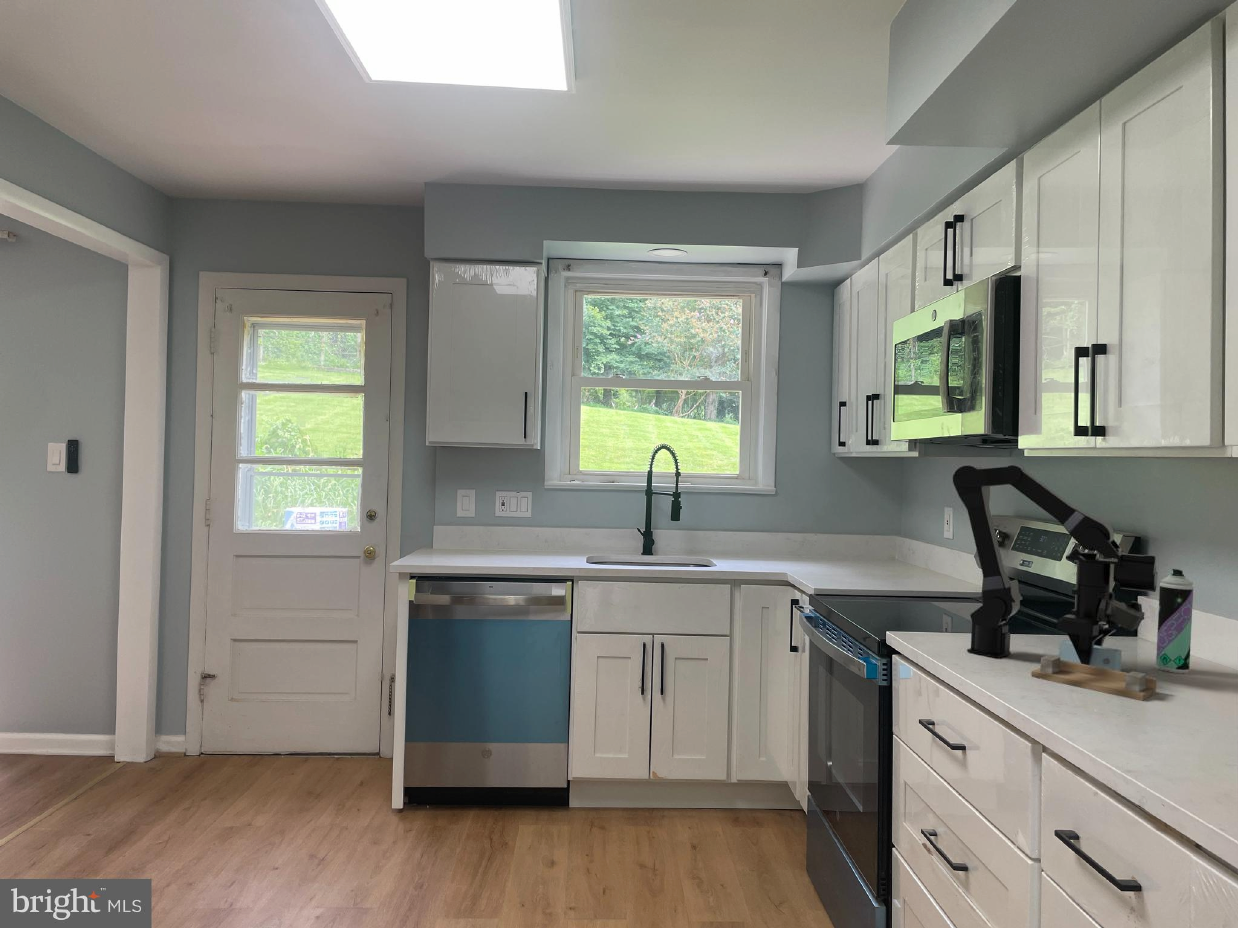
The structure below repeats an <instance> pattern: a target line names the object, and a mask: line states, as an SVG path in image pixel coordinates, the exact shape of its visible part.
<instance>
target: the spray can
mask: <svg viewBox="0 0 1238 928" xmlns="http://www.w3.org/2000/svg"><path fill="white" fill-rule="evenodd" d="M1184 575H1185V574H1183V570H1181V569H1178V568H1172V569H1171V573H1170V574H1168V576H1166V577H1165V578H1162V579H1160V583H1159V595H1158V614H1157V615H1158V616H1157V617H1158V618H1157V619H1158V620H1157V636H1156V638H1157V639H1156V655H1155V656H1156V659H1155V668H1156V669H1157V668H1158V670H1159V669H1160V671H1163V670H1164V671H1163V672H1167V671H1169V672H1168V673H1172V672H1173V673H1174V674H1183V673H1184V674H1189V673H1190V664H1191V663H1190V661H1191V660H1190V659H1191V644H1192V643H1191V641H1192V623H1193V622H1192V621H1193V619H1192V618H1193V602H1194V599H1193V598H1194V597H1193V596H1194V586H1193V582H1192V581H1190V580H1188V579H1187V577H1186V575H1185V576H1184Z"/></svg>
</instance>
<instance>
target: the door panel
mask: <svg viewBox="0 0 1238 928" xmlns="http://www.w3.org/2000/svg"><path fill="white" fill-rule="evenodd" d="M1058 657H1060V660H1065V661H1070V662H1075V663H1080V664H1081V662H1080V660H1079V658H1078V655H1077V653H1076V651H1075V649H1074V647H1073V644H1072V642H1071V640H1070V639H1069V640H1068V639H1064V640H1060V641H1059V646H1058ZM1089 665H1090V666H1095V667H1100V668H1105V669H1110V670H1115V671H1120V672H1121V671H1122V669H1121V667H1122V649H1117V648H1112V647H1106V646H1103V645H1102V646H1096V645H1094V647H1093V652H1092V656H1091V661H1090V664H1089Z"/></svg>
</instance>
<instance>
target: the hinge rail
mask: <svg viewBox="0 0 1238 928" xmlns="http://www.w3.org/2000/svg"><path fill="white" fill-rule="evenodd" d="M1030 674H1031V676H1032V677H1031V676H1030V677H1031V678H1036V679H1040V678H1041V680H1045V679H1046V681H1051V682H1055V683H1058V684H1059V683H1060V684H1063V685H1069V686H1073V687H1079V688H1082V689H1087V690H1091V691H1095V692H1101V693H1106V694H1110V695H1113V696H1119V697H1123V698H1128V699H1132V700H1137V701H1144V700H1146V699H1148V698H1150V697H1151V696H1153V695H1154V694H1156V693H1157V678H1155V677H1150V676H1147V673H1143V672H1139V671H1134V670H1133V671H1131V672H1124V671H1121V670H1120V671H1115V670H1110V669H1105V668H1100V667H1095V666H1090V665H1085V664H1080V663H1075V662H1070V661H1065V660H1060V657H1059V656H1056V655H1051V654H1048V655H1045V656H1042V657H1040V667H1038V668H1036V669H1033V670H1031V673H1030Z"/></svg>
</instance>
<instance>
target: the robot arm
mask: <svg viewBox="0 0 1238 928" xmlns="http://www.w3.org/2000/svg"><path fill="white" fill-rule="evenodd" d="M952 483H953V486H954V488H955V491H956V494H957V495H958V498H959V499H960V501H961V503H963V506H964V507H965V509H966V511H967V514H968V518H969V519H968V520H969V523H970V528H971V531H972V535H973V540H974V544H975V547H976V551H977V552H976V553H977V556H978V560H979V566H980V569H981V573H982V585H981V602H982V605H981V606H979V607H978V608H977V609H975V611H973V612H972V613H970V615H969V616H970V619H971V635H970V638H971V639H970V648H967V649H966V652H967V653H972V654H977V655H982V656H987V657H992V658H998V659H999V658H1002V657H1005V656H1007V655H1010V654H1011V648H1010V647H1011V633H1010V632H1009V625H1008V624H1006V623H1007V622H1008V620H1009V618H1010V617H1012V616H1013V615H1014V614H1016V613H1017V612H1018V611H1019V609H1020V606H1021V602H1020V601H1021V600H1023V596H1022V595H1021V593H1020V591H1019V581H1018V579H1014V580H1010V578H1009V576H1008V575H1007V573H1006V571H1005V567H1004V562H1003V558H1002V554H1001V551H1000V547H999V543H998V537H997V534H996V533H997V532H996V529H995V525H994V522H993V517H992V514H991V509H990V500H991V499H990V497H991V487H995V486H1005V485H1010V486H1011V487H1014V489H1016V490H1017V491H1018V492H1019V493H1021V494H1022V495H1023V496H1025V497H1026V498H1028V499H1029V500H1030V501H1032V502H1033V503H1034V504H1035V505H1036V506H1038V507H1040V509H1042V510H1044V511H1045V512H1046V513H1048V514H1049V515H1050V516H1052V518H1054V519H1055V520H1057V521H1058V522H1059V524H1061V526H1062V527H1063V528H1064V529H1065V530H1066V532H1067V533H1068V534H1069V535H1070V536H1071V538H1073V540H1075V542H1076V543H1077V544H1078V545H1079V546H1080V547H1081V548H1083V549H1085V550H1086V551H1090V552H1085V551H1082V550H1080V548H1079V547H1075V548H1073V550H1072V552H1071V553H1068V554H1067V555H1065V559H1066V560H1068V561H1076V574H1075V575H1076V577H1075V578H1076V580H1075V588H1071V594H1072V595H1075V597H1074V601H1075V602H1074V609H1071V610H1070V614H1066V615H1063V616H1061V617H1060V618H1058V619H1057V621H1056V630H1057V631H1059V632H1064V633H1065V634H1067V637H1068V638H1069V641H1071V642H1072V644H1073V647H1074V649H1075V651H1076V653H1077V655H1078V658H1079V660H1080V662H1081V664H1085V665H1089V664H1090V661H1091V656H1092V652H1093V647H1094V645H1096V646H1102V647H1103V646H1104V643H1105V639H1106V638H1107V637H1108V636H1109V635H1111V634H1113V633H1115V632H1116V631H1117V629H1115V628H1110V627H1109V624H1112V625H1114V626H1115V627H1118V628H1120V627H1122V628H1123V629H1125V630H1128V631H1130V632H1133V631H1134V630H1138V629H1139V628H1140V625H1141V623H1142V621H1143V620H1145V612H1144V611H1143V607H1142V603H1140V602H1138V601H1135V600H1132V601H1130V602H1129V603H1127V604H1126V603H1125V602H1120V601H1118V600H1116V599H1115V598H1116V597H1115V593H1114V591H1112V590H1111V575H1112V574H1111V573H1112V565H1113V578H1112V579H1113V582H1114V583H1116V584H1118V585H1119V589H1124V590H1132V591H1133V590H1134V591H1142V592H1151V593H1156V591H1157V586H1158V585H1157V584H1158V576H1159V575H1158V571H1157V556H1156V555H1154V554H1144V555H1143V554H1130V553H1125V552H1124V550H1123V549H1122V547H1121V546H1120V545H1119V544H1118V542H1117V541H1116V540H1115V533H1114V529H1113V527H1112V526H1111V525H1110V524H1109V523H1108V522H1106V521H1104V520H1102V519H1101V518H1098V517H1096V516H1094V515H1092V514H1090V513H1088V512H1086V511H1084V510H1082V509H1079V508H1077V507H1076V506H1074V505H1072V504H1071V503H1070V502H1068V501H1067V500H1066V499H1065V498H1063V497H1062V496H1060V495H1059V494H1057V493H1056V492H1055V491H1054V490H1053V489H1051V488H1049V487H1048V486H1047V485H1045V484H1044V483H1042V482H1041V481H1040V480H1039V479H1037V478H1036V477H1034V476H1033V475H1032V474H1030V473H1029V472H1028V471H1027V470H1026V469H1025V468H1024V467H1023V466H1021V465H1017V464H1016V465H1014V464H1012V465H1008V466H1004V467H1003V466H1002V467H1001V466H1000V467H991V468H989V467H987V468H983V467H981V466H978V465H963V466H960V467H958V468H957V469H956V470H955V471H954V474H953V475H952ZM1095 552H1097V553H1095ZM1098 553H1099V554H1100V555H1102V556H1103V557H1104V558H1100V555H1099V554H1098Z"/></svg>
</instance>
